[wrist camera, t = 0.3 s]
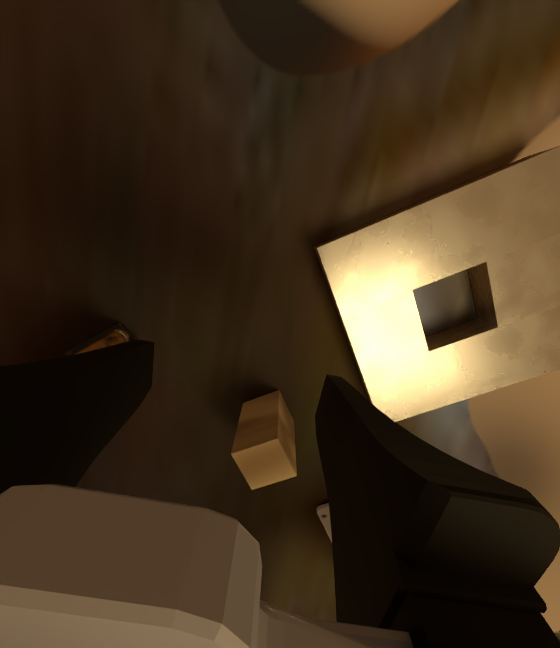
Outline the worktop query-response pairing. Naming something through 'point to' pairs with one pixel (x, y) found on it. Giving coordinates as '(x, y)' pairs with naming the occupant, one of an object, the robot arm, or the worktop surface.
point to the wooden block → (265, 441)
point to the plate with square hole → (444, 260)
